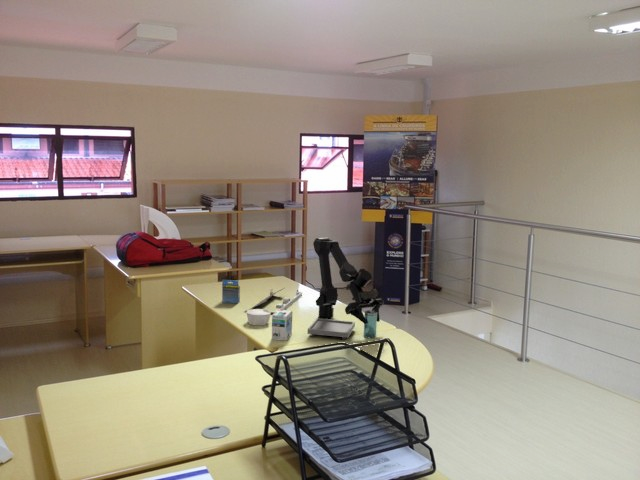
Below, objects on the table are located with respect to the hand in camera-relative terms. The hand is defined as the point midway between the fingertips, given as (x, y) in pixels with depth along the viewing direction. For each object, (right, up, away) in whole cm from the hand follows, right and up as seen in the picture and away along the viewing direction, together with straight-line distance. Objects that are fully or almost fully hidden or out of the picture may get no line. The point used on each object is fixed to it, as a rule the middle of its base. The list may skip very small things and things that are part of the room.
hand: (372, 322), depth 265 cm
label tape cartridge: (-70, +3, +53) cm, 88 cm away
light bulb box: (-40, -6, -3) cm, 41 cm away
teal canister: (-1, -6, +2) cm, 7 cm away
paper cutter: (-47, +2, +53) cm, 71 cm away
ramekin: (-52, -3, +17) cm, 55 cm away
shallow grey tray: (-18, -6, +4) cm, 19 cm away
